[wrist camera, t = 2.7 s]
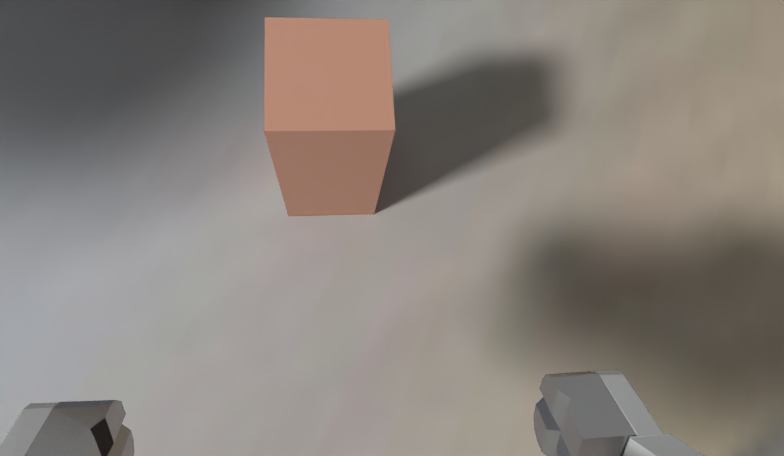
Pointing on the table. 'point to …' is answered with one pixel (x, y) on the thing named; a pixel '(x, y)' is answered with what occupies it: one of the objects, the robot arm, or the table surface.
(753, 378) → the table surface
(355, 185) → the post
